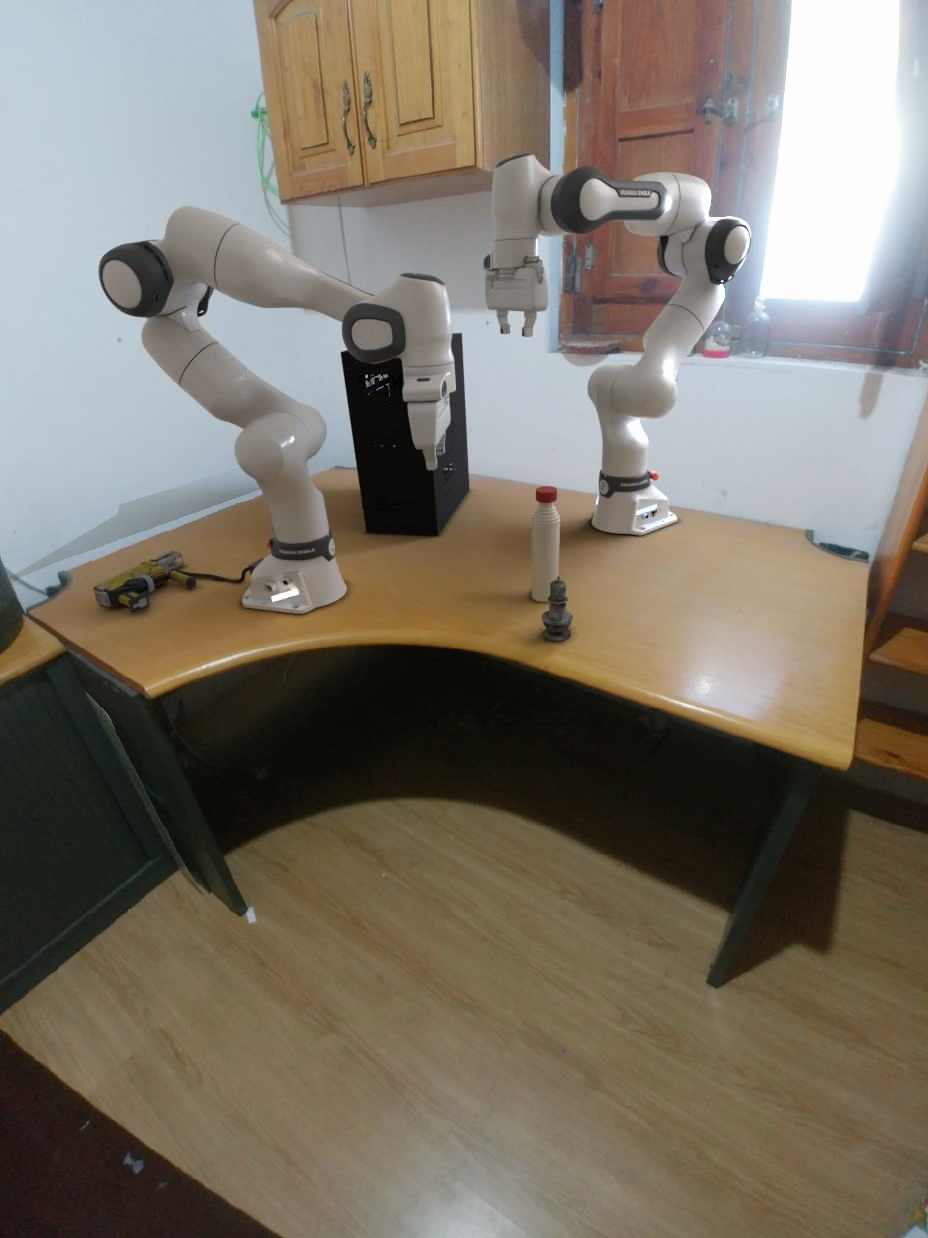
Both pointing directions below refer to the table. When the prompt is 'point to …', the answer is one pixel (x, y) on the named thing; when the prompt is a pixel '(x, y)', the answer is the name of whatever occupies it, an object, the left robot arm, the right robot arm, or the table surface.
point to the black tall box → (403, 450)
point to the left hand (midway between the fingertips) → (436, 461)
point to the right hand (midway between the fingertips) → (516, 335)
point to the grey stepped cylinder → (557, 613)
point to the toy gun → (141, 582)
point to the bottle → (544, 550)
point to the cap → (546, 494)
